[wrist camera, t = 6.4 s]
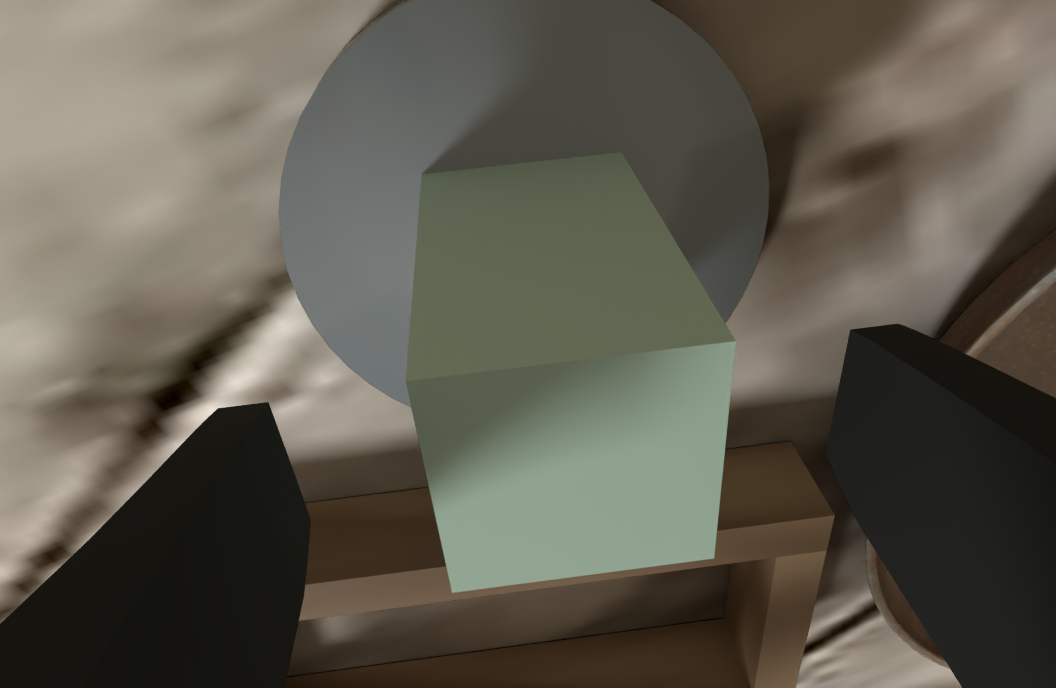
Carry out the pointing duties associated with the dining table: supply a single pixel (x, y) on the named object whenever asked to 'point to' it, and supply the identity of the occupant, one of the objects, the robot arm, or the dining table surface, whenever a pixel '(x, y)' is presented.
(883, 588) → the plant saucer
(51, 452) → the dining table surface
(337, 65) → the coaster
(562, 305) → the part block
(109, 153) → the dining table surface
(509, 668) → the pocket frame
